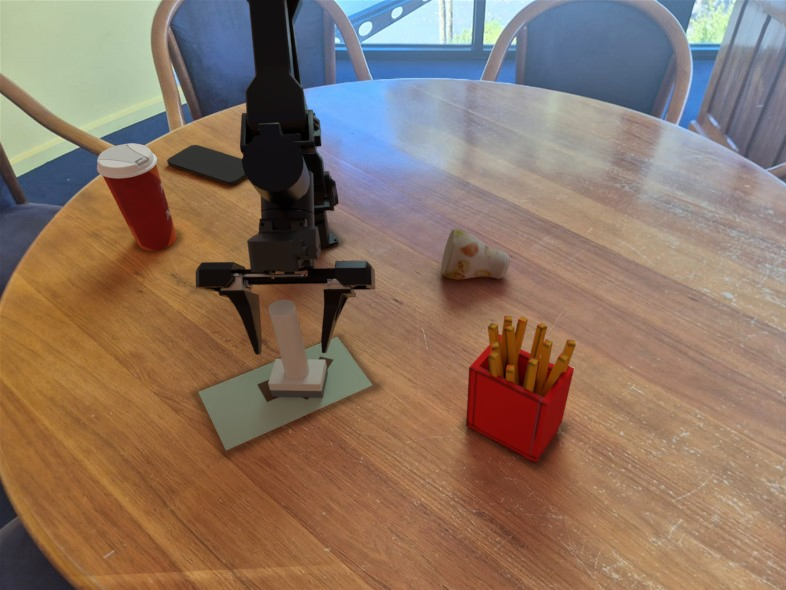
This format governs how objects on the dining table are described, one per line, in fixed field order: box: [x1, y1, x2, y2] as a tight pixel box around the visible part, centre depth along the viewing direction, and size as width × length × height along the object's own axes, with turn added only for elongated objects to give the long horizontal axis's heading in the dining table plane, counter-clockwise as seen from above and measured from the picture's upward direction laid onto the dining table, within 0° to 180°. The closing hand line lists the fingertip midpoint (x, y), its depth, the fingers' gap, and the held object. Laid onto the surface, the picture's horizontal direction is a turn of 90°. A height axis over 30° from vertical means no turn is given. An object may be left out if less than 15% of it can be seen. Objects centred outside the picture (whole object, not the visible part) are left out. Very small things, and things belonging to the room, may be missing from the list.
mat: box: [198, 336, 373, 451], centre depth 74 cm, size 10×18×1 cm, turn 124°
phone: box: [166, 144, 247, 186], centre depth 110 cm, size 7×1×15 cm
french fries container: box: [465, 315, 577, 464], centre depth 67 cm, size 7×9×14 cm
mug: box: [440, 228, 511, 281], centre depth 89 cm, size 8×10×10 cm
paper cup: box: [96, 142, 178, 252], centre depth 90 cm, size 8×8×14 cm
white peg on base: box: [268, 298, 328, 398], centre depth 70 cm, size 6×4×12 cm, turn 91°
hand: (291, 353), depth 70 cm, fingers open, 7 cm apart
